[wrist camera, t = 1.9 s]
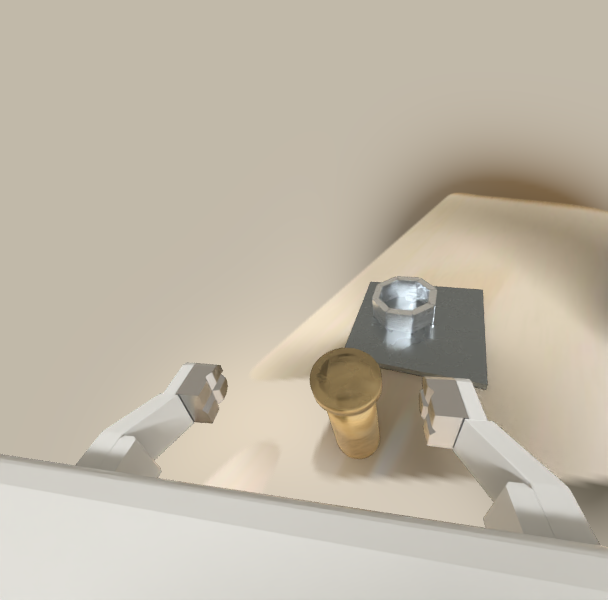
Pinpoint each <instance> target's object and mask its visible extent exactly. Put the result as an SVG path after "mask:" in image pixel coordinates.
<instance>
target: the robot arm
mask: <svg viewBox="0 0 608 600" xmlns="http://www.w3.org/2000/svg"><path fill="white" fill-rule="evenodd" d="M222 371H223V370H222V368H221V365H213V364H200V363H185V364H184V365H183V366H182V367H181V369H180V370H179V371H178V373H177V375H176V376H175V377H174V379H173V380H172V382H171V383H170V384H169V386H168V387H167V389H166V390H165V392H164V393H163V394H161V393H160V394H158V395H157V396H155V397H154V398H152V399H151V400H149V401H148V402H146V403H145V404H143V405H142V406H140V407H139V408H137V409H136V410H134V411H133V412H131V413H129V414H128V415H126V416H125V417H124V418H122V419H120V420H119V421H117V422H116V423H114V424H113V425H111V426H110V427H108V428H107V429H105V430H104V431H102V432H101V434H100V435H99V436H98V437H97V439H96V440H95V441H94V443H93V444H92V445H91V446H90V447H89V449H88V450H87V451H86V452H85V454H84V455H83V456H82V458H81V459H80V460H79V461H78V463H77V464H76V465H68V464H61V463H55V462H49V461H42V460H35V459H29V458H22V457H16V456H9V455H3V454H0V600H608V547H607V546H601V545H600V543H599V541H598V540H597V538H596V536H595V534H594V533H593V531H592V529H591V527H590V525H589V523H588V521H587V520H586V518H585V516H584V514H583V513H582V511H581V509H580V507H579V505H578V504H577V502H576V500H575V498H574V496H573V494H572V492H571V491H570V489H569V487H567V486H566V485H565V484H564V483H563V482H562V481H561V480H559V479H558V478H557V477H556V476H555V475H554V474H553V473H551V472H550V471H549V470H548V469H547V468H546V467H545V466H543V465H542V464H541V463H540V462H539V461H538V460H537V459H535V458H534V457H533V456H532V455H531V454H530V453H529V452H527V451H526V450H525V449H524V448H523V447H522V446H521V445H519V444H518V443H517V442H516V441H515V440H514V439H513V438H511V437H510V436H509V435H508V434H507V433H506V432H505V431H503V430H502V429H501V428H500V427H499V426H498V425H497V424H495V423H494V422H493V421H488V420H487V417H486V415H485V412H484V410H483V408H482V405H481V403H480V400H479V398H478V396H477V393H476V391H475V389H474V386H473V384H472V381H471V380H470V379H463V378H449V377H427V376H424V377H423V380H422V386H423V389H422V390H420V395H419V407H420V414H421V417H422V418H423V419H424V420H425V422H424V427H423V429H424V434H425V438H426V443H427V446H434V447H442V448H449V449H453V451H454V452H455V454H456V455H457V456H458V457H459V459H460V460H461V461H462V463H463V464H464V465H465V466H466V468H467V469H468V470H469V471H470V473H471V474H472V475H473V476H474V478H475V479H476V480H477V482H478V483H479V484H480V485H481V486H482V488H483V489H484V490H485V492H486V493H487V494H488V495H489V497H490V498H491V499H492V501H493V502H494V503H493V505H492V506H491V508H490V509H489V511H488V512H487V513H486V515H485V516H484V518H483V520H484V524H485V527H486V528H483V527H476V526H469V525H463V524H456V523H449V522H443V521H437V520H430V519H423V518H417V517H410V516H404V515H397V514H391V513H384V512H377V511H371V510H364V509H358V508H351V507H345V506H338V505H332V504H325V503H318V502H312V501H305V500H299V499H292V498H285V497H279V496H273V495H266V494H259V493H253V492H246V491H240V490H233V489H227V488H220V487H213V486H207V485H200V484H194V483H187V482H181V481H174V480H167V479H160V478H158V477H159V475H160V473H161V468H160V467H159V465H158V464H157V463H156V462H155V461H154V460H155V459H156V458H157V457H158V456H160V455H161V454H162V453H163V452H164V451H165V450H166V449H167V448H168V447H169V446H170V445H171V444H172V443H173V442H174V441H176V440H177V439H178V438H179V437H180V436H181V435H182V434H183V433H184V432H185V431H186V430H187V429H188V428H189V427H190V426H191V425H193V423H194V422H200V423H213V421H214V419H215V417H216V415H217V413H218V411H219V405H218V404H219V403H220V402H221V401H223V400H224V398H225V395H226V392H227V387H228V385H227V380H226V378H225V377H224V376H223V375H222V374H221V373H222Z"/></svg>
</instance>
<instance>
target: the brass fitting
mask: <svg viewBox="0 0 608 600" xmlns="http://www.w3.org/2000/svg"><path fill="white" fill-rule="evenodd" d="M310 385H311V389H312V391H313V394H314V397H315V399H316V401H317V403H318V404H319V405H320V406H321V407H322V408H323V409H324V410H326V411H327V413H328V416H329V419H330V422H331V425H332V428H333V431H334V434H335V437H336V440H337V443H338V446H339V448H340V449H341V450H342V452H343V453H345V454H346V455H347V456H349V457H351V458H355V459H363V458H367V457H369V456H370V455H372V454H373V453H374V452H375V451H376V449H377V447H378V445H379V441H380V436H379V426H378V417H377V407H376V402H377V401H378V399H379V397H380V394H381V391H382V376H381V370H380V367H379V365H378V363H377V362H376V361H375V359H374V358H373V357H371V356H370V355H369V354H367V353H366V352H364V351H361V350H359V349H355V348H339V349H335V350H332V351H330V352H328V353H326V354H324V355H323V356H322V357H320V358H319V359H318V360H317V361H316V363H315V364H314V366H313V368H312V370H311V374H310Z"/></svg>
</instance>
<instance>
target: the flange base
mask: <svg viewBox="0 0 608 600" xmlns="http://www.w3.org/2000/svg"><path fill="white" fill-rule="evenodd" d="M345 348H355V349H359V350H361V351H364V352H366V353H367V354H369V355H370V356H371V357H373V358H374V359H375V361H376V362H377V363H378V365H379V367H380V368H385V369H390V370H394V371H399V372H404V373H409V374H414V375H418V376H423V377H424V376H427V377H449V378H463V379H470V380H471V381H472V384H473V386H474V387H476V388H481V389H486V388H487V385H488V384H487V364H486V345H485V325H484V306H483V290H479V289H465V288H451V287H437V286H432V285H430V284H429V283H428V282H426V281H425V280H423V279H422V278H420V279H419V278H418V277H401V276H397V277H393V278H391V279H389V280H387V281H384V282H370V285H369V287H368V290H367V292H366V295H365V298H364V300H363V303H362V305H361V308H360V310H359V313H358V315H357V318H356V321H355V323H354V326H353V328H352V331H351V333H350V336H349V338H348V341H347V343H346V346H345Z"/></svg>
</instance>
